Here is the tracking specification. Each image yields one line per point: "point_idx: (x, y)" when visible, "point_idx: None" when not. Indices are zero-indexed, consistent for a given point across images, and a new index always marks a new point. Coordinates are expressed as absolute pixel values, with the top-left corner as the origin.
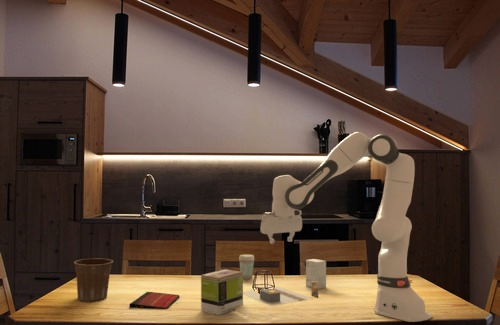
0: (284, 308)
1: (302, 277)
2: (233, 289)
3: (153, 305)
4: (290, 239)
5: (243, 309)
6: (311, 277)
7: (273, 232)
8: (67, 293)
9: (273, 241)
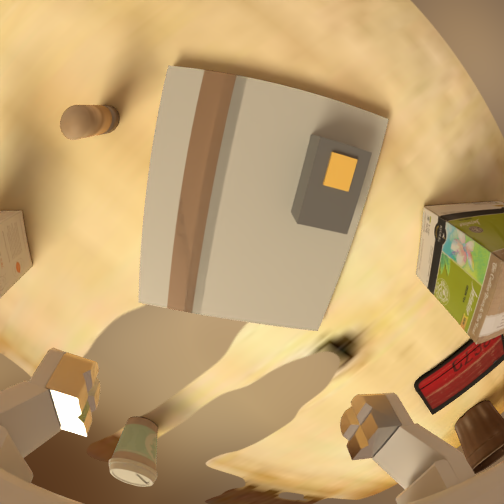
0: (335, 88)
1: (2, 337)
2: (502, 225)
3: (498, 337)
4: (70, 375)
5: (434, 190)
6: (6, 256)
7: (478, 488)
8: (459, 440)
9: (385, 408)
